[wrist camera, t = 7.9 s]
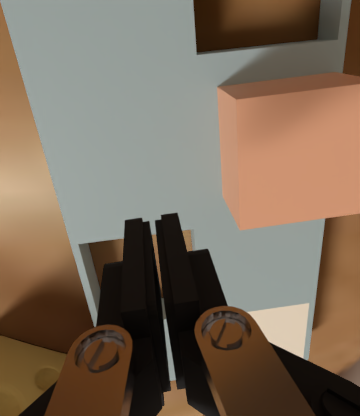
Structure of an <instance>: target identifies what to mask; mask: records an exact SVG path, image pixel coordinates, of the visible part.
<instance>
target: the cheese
mask: <svg viewBox="0 0 360 416" xmlns="http://www.w3.org/2000/svg"><path fill="white" fill-rule="evenodd" d="M66 356H67V354H65V353H60V352H56V351H52V350H48V349H45V348H42V347H38V346H35V345H31V344H28V343H24V342H21V341H18V340H14V339H11V338H8V337H5V336H2V335H0V416H18V415H19V414H20V413H22V412H23V411H24V410H25V409H26V408H27V407H28V406H29V405H30V404H32V403H33V402H34V401H35V400H36V399H37V398H38V397H39V396H41V395H42V394H43V393H44V392H45V391H46V390H47V389H48V388H49V387H51V386H52V385H53V384H54V383H55V382H56V381H57V380H58V378H59V375H60V372H61V370H62V367H63V364H64V362H65V359H66Z"/></svg>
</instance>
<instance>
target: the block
mask: <svg viewBox="0 0 360 416" xmlns="http://www.w3.org/2000/svg"><path fill="white" fill-rule="evenodd" d="M217 96H218V116H219V135H220V155H221V174H222V194H223V198H224V200H225V202H226V204H227V206H228V208H229V210H230V212H231V214H232V216H233V218H234V220H235V222H236V224H237V226H238V228H239V230H247V229H254V228H261V227H268V226H275V225H282V224H289V223H296V222H303V221H310V220H317V219H324V218H331V217H338V216H345V215H352V214H359V213H360V76H355V75H349V74H344V73H338V72H331V73H323V74H315V75H307V76H299V77H291V78H283V79H275V80H267V81H259V82H251V83H243V84H235V85H227V86H219V87H217Z"/></svg>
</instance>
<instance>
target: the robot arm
mask: <svg viewBox="0 0 360 416" xmlns="http://www.w3.org/2000/svg"><path fill="white" fill-rule="evenodd" d="M155 227H156V236H157V245H158V254H159V263H160V272H161V281H162V290H163V298H164V306H165V313H166V320H167V326H168V333H169V339H170V346H171V352H172V358H173V365H174V371H175V378H176V384H177V390H178V389H184V388H186V395H187V401H188V404H189V405H191V406H192V407H193V408H195V409H196V410H198V411H199V412H201V413H202V414H203V416H360V387H359V386H357V385H355V384H354V383H352V382H350V381H348V380H346V379H344V378H342V377H340V376H338V375H336V374H334V373H332V372H330V371H328V370H326V369H324V368H322V367H320V366H317V365H315V364H313V363H311V362H309V361H307V360H305V359H303V358H301V357H299V356H297V355H295V354H293V353H291V352H289V351H287V350H285V349H283V348H281V347H279V346H276V345H274V344H272V343H270V342H269V341H268V340H267V338H266V337H265V335H264V333H263V332H262V330H261V329H260V327H259V326H258V324H257V322H256V321H255V320H254V318H253V317H252V316H251V315H250V314H249V313H247V312H245V311H244V310H242V309H239V308H236V307H233V306H228V305H227V302H226V299H225V296H224V293H223V290H222V287H221V284H220V281H219V278H218V276H217V273H216V270H215V267H214V264H213V261H212V258H211V255H210V252H209V250H208V249H201V250H195V251H188V252H187V249H186V245H185V241H184V237H183V233H182V229H181V225H180V220H179V216H178V213H170V214H163V215H161V219H160V220H155ZM167 391H171V386H170V376H169V367H168V357H167V348H166V338H165V329H164V319H163V309H162V300H161V291H160V284H159V278H158V272H157V266H156V259H155V253H154V247H153V240H152V234H151V228H150V222H149V221H146V222H143V219H142V218H135V219H128V220H125V226H124V248H123V261H121V262H114V263H108V264H105V265H104V268H103V275H102V283H101V291H100V299H99V307H98V315H97V323H96V327H94V328H92V329H89V330H87V331H86V332H84V333H83V334H82V335H80V336H79V337H78V338H77V339H76V340H75V341H74V342H73V344H72V346H71V347H70V349H69V351H68V354H67V356H66V359H65V362H64V364H63V367H62V370H61V372H60V375H59V378H58V380H57V381H56V382H55V383H54V384H53V385H52V386H51V387H49V388H48V389H47V390H46V391H45V392H44V393H43V394H42V395H41V396H39V397H38V398H37V399H36V400H35V401H34V402H33V403H32V404H30V405H29V406H28V407H27V408H26V409H25V410H24V411H23V412H22V413H20V414H19V415H18V416H156V415H157V414H158V413H159V412H160V410H161V409H162V406H164V394H163V392H167Z"/></svg>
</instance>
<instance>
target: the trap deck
mask: <svg viewBox="0 0 360 416" xmlns="http://www.w3.org/2000/svg"><path fill="white" fill-rule="evenodd" d="M0 2H1V5H2V9H3V12H4V16H5V19H6V22H7V26H8V29H9V33H10V36H11V40H12V43H13V47H14V50H15V54H16V57H17V61H18V64H19V67H20V71H21V74H22V78H23V81H24V85H25V88H26V92H27V95H28V99H29V102H30V106H31V109H32V112H33V116H34V119H35V123H36V126H37V130H38V133H39V137H40V140H41V144H42V147H43V151H44V154H45V157H46V161H47V164H48V168H49V171H50V175H51V178H52V182H53V185H54V189H55V192H56V196H57V199H58V202H59V206H60V209H61V213H62V216H63V220H64V223H65V227H66V230H67V234H68V237H69V241H70V244H71V248H72V251H73V254H74V258H75V261H76V265H77V268H78V272H79V275H80V279H81V282H82V286H83V289H84V293H85V296H86V299H87V303H88V306H89V310H90V313H91V317H92V320H93V324H94V327H96V323H97V315H98V307H99V299H100V291H101V290H100V287H99V283H98V279H97V275H96V271H95V267H94V264H93V260H92V256H91V252H90V248H89V244H88V243H91V242H99V241H107V240H114V239H122V238H124V226H125V220H128V219H135V218H142V219H143V222H146V221H149V222H150V228H151V234H156V227H155V220H160V219H161V215H163V214H170V213H178V216H179V220H180V225H181V229H182V230H190V229H191V238H192V249H193V251H195V250H201V249H208V250H209V252H210V255H211V258H212V261H213V264H214V267H215V270H216V273H217V276H218V278H219V281H220V284H221V287H222V290H223V293H224V296H225V299H226V302H227V305H228V306H233V307H236V308H239V309H242V310H244V311H245V312H247V313H249V314H250V315H251V316H252V317H253V318H254V320H255V321H256V322H257V324H258V326H259V327H260V329H261V330H262V332H263V333H264V335H265V337H266V338H267V340H268V341H269V342H270V343H272V344H274V345H276V346H279V347H281V348H283V349H285V350H287V351H289V352H291V353H293V354H295V355H297V356H299V357H301V358H303V359H305V360H308V358H309V350H310V341H311V333H312V325H313V316H314V308H315V300H316V291H317V283H318V274H319V266H320V258H321V249H322V241H323V233H324V224H325V218H324V219H317V220H310V221H303V222H296V223H289V224H282V225H275V226H268V227H261V228H254V229H247V230H239V228H238V226H237V224H236V222H235V220H234V218H233V216H232V214H231V212H230V210H229V208H228V206H227V204H226V202H225V200H224V198H223V194H222V174H221V155H220V135H219V116H218V96H217V87H219V86H227V85H235V84H243V83H251V82H259V81H267V80H275V79H283V78H291V77H299V76H307V75H315V74H323V73H331V72H338V73H343V65H344V57H345V49H346V40H347V32H348V24H349V15H350V7H351V0H321V3H320V15H319V27H318V39H317V40H308V41H299V42H290V43H280V44H271V45H262V46H252V47H243V48H234V49H225V50H215V51H206V52H196V37H195V21H194V6H193V0H0ZM161 300H162V309H163V319H164V329H165V338H166V348H167V357H168V367H169V376H170V381H172V380H176V378H175V371H174V365H173V358H172V352H171V346H170V339H169V333H168V326H167V320H166V313H165V306H164V298H161Z"/></svg>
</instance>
